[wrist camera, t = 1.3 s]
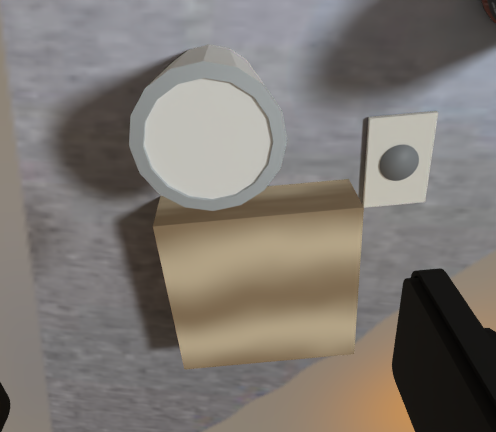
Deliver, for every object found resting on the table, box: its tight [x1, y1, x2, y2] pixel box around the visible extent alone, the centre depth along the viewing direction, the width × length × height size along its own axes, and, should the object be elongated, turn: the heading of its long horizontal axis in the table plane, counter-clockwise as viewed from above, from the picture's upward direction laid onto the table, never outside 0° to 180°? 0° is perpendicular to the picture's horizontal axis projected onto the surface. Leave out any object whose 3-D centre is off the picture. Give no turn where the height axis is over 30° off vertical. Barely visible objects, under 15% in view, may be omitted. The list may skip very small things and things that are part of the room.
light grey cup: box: [129, 45, 287, 211], centre depth 22 cm, size 7×7×7 cm
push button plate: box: [363, 111, 438, 207], centre depth 28 cm, size 6×4×1 cm, turn 4°
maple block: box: [153, 179, 364, 369], centre depth 30 cm, size 12×12×4 cm
